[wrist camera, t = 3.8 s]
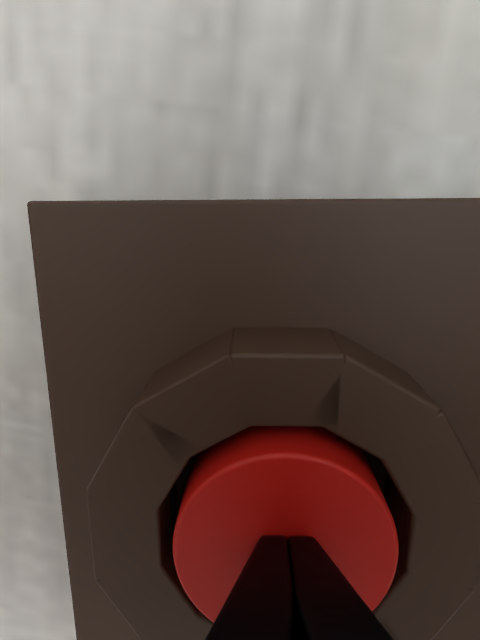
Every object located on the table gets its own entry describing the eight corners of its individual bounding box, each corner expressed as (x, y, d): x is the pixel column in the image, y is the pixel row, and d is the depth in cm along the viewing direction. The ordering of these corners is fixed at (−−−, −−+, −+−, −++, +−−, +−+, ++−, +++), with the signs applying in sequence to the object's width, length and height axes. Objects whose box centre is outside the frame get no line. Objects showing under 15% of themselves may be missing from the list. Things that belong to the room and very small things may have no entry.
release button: (366, 569, 9) (391, 651, 7) (190, 565, 9) (175, 645, 8) (378, 406, 8) (409, 456, 7) (184, 403, 8) (166, 452, 7)
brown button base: (442, 628, 12) (516, 794, 9) (107, 618, 12) (50, 774, 9) (495, 200, 9) (631, 193, 6) (69, 203, 10) (-33, 198, 6)
